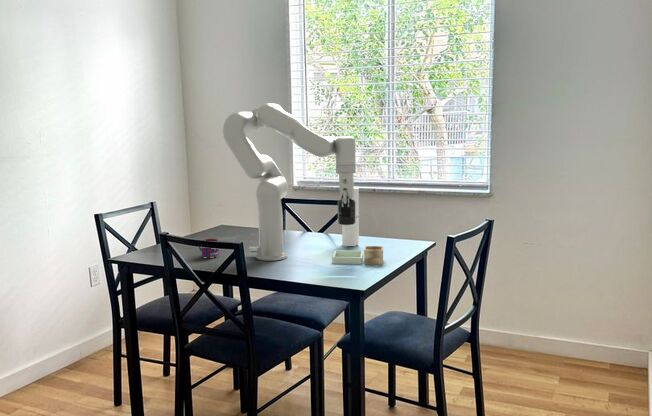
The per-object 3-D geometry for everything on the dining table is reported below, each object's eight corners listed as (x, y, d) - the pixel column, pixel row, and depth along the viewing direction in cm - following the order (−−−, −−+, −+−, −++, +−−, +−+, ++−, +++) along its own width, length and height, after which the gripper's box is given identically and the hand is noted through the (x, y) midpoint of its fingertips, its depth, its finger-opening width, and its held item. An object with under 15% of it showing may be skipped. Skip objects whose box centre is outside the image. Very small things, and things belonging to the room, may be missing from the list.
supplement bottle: (334, 224, 234) (334, 193, 232) (342, 221, 240) (342, 191, 238) (351, 225, 231) (350, 194, 229) (358, 222, 237) (358, 191, 235)
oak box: (364, 265, 232) (364, 249, 231) (364, 260, 239) (365, 245, 238) (382, 265, 231) (382, 250, 230) (383, 261, 238) (383, 246, 237)
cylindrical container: (358, 246, 263) (359, 188, 259) (342, 246, 263) (342, 188, 259) (358, 243, 270) (358, 186, 266) (342, 243, 270) (342, 186, 266)
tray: (332, 264, 233) (332, 257, 232) (335, 257, 244) (335, 250, 243) (361, 265, 232) (361, 257, 231) (363, 258, 243) (363, 250, 242)
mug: (208, 259, 242) (207, 242, 241) (194, 255, 249) (193, 239, 248) (222, 256, 246) (221, 240, 245) (208, 252, 254) (207, 236, 252)
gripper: (354, 171, 223) (355, 219, 226) (356, 166, 240) (357, 211, 243) (333, 171, 224) (334, 219, 227) (337, 167, 241) (338, 211, 244)
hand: (346, 215), depth 235 cm, fingers closed on supplement bottle, 6 cm apart
